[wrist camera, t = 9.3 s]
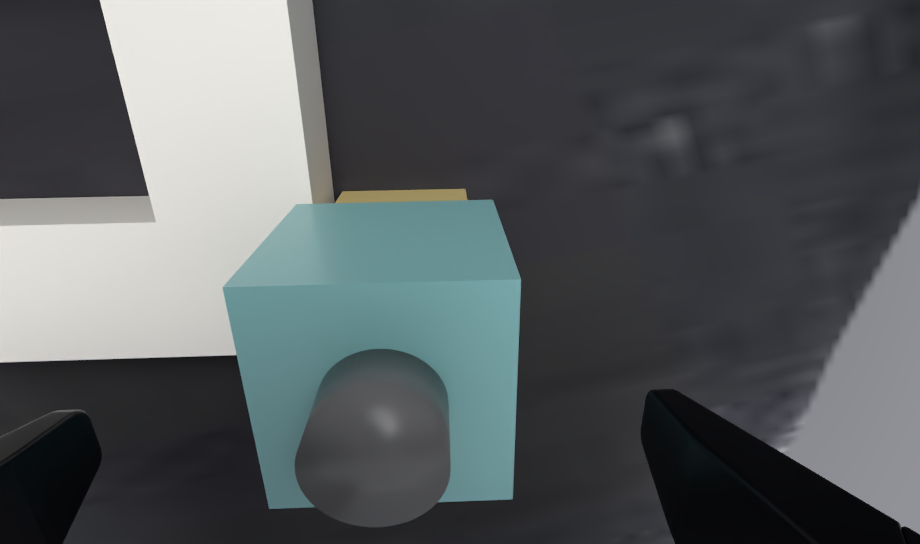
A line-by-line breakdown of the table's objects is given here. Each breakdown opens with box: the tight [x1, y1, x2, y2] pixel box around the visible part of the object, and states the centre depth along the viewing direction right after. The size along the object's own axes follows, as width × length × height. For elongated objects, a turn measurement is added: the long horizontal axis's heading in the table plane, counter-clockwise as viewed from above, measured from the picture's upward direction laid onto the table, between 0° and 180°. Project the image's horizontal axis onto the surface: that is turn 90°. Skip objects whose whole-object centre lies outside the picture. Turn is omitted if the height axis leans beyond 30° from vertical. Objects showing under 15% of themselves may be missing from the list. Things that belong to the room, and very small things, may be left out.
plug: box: [222, 189, 521, 527], centre depth 12 cm, size 4×4×9 cm
